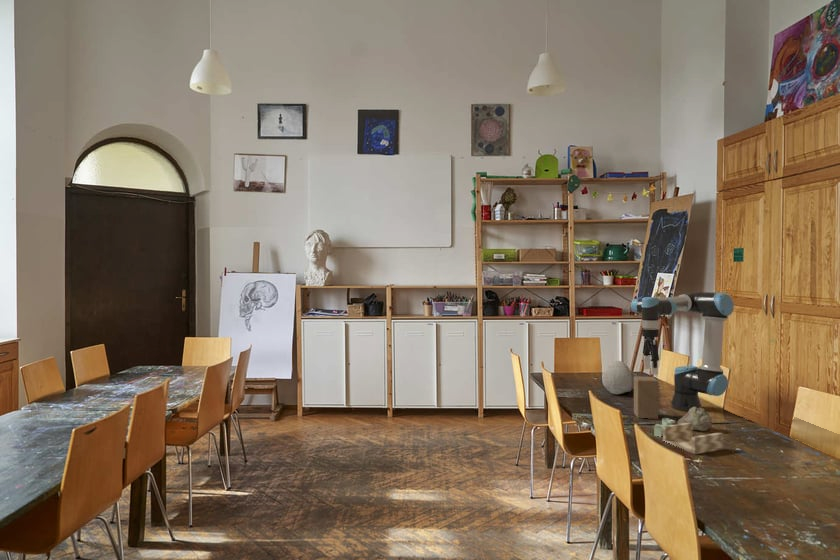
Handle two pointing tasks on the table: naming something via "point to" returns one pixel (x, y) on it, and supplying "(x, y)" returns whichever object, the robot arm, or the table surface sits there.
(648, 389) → the wooden block
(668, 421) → the clip
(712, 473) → the table surface
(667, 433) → the cradle
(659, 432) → the clip
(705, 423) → the lumpy boulder
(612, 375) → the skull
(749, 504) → the table surface
